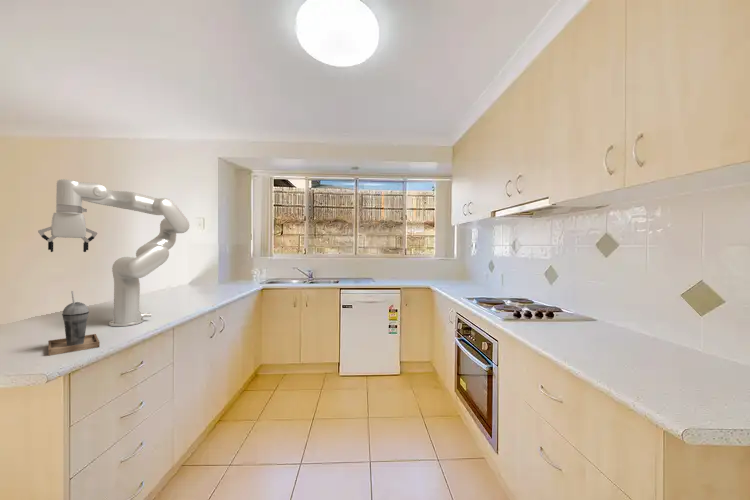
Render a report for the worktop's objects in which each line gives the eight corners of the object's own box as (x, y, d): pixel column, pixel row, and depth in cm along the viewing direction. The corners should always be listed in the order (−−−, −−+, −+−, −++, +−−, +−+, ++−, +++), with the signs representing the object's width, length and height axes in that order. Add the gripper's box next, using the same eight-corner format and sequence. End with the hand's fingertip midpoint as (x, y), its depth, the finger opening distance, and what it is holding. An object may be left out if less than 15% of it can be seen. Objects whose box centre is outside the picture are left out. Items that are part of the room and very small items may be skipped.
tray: (95, 338, 123) (95, 333, 123) (99, 347, 114) (99, 341, 114) (48, 345, 113) (48, 340, 113) (48, 355, 104) (48, 349, 104)
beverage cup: (93, 342, 116) (94, 290, 116) (69, 348, 110) (70, 292, 109) (80, 339, 119) (81, 288, 118) (56, 345, 112) (57, 291, 111)
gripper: (96, 212, 135) (96, 251, 135) (38, 208, 122) (37, 251, 123) (98, 212, 130) (97, 252, 130) (37, 207, 117) (37, 252, 118)
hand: (68, 251), depth 126 cm, fingers open, 9 cm apart
